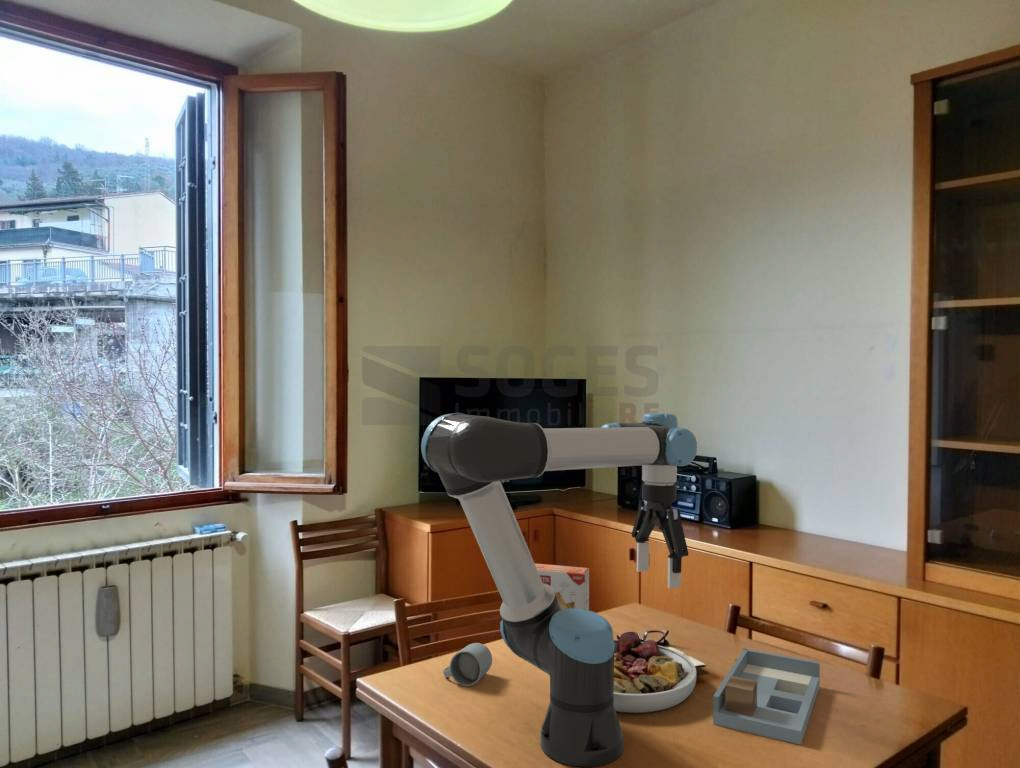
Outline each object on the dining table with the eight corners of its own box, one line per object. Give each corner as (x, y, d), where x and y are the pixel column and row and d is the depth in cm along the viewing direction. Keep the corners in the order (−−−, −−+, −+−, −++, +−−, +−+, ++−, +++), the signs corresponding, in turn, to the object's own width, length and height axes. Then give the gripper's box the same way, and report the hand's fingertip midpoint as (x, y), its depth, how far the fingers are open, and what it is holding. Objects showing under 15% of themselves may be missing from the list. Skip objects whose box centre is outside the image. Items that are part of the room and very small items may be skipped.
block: (751, 716, 138) (752, 690, 138) (725, 710, 140) (725, 685, 140) (757, 706, 142) (757, 681, 142) (731, 700, 145) (731, 675, 145)
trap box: (800, 745, 132) (801, 715, 132) (713, 724, 140) (713, 696, 140) (819, 687, 156) (819, 662, 156) (743, 672, 164) (743, 648, 164)
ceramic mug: (494, 674, 164) (493, 640, 164) (481, 688, 156) (480, 653, 156) (451, 668, 167) (451, 635, 167) (436, 682, 160) (436, 648, 159)
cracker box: (528, 653, 176) (528, 568, 175) (534, 644, 181) (534, 562, 181) (584, 660, 172) (584, 573, 171) (589, 651, 177) (589, 566, 177)
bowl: (700, 726, 140) (700, 686, 140) (547, 712, 146) (547, 673, 146) (692, 665, 169) (693, 632, 169) (566, 655, 175) (566, 623, 175)
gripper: (706, 490, 148) (704, 593, 148) (646, 475, 172) (644, 563, 172) (674, 491, 146) (672, 596, 146) (618, 476, 170) (616, 566, 170)
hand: (657, 579), depth 159 cm, fingers open, 13 cm apart
